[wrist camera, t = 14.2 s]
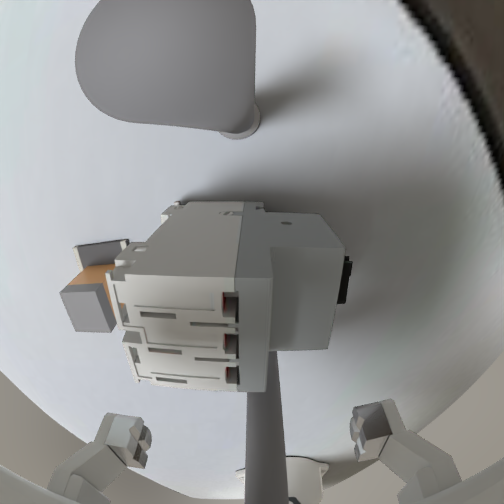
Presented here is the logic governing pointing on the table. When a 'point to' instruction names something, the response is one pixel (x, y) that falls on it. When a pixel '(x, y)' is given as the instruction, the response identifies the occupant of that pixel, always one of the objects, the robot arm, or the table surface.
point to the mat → (98, 253)
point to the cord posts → (192, 116)
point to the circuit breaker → (226, 293)
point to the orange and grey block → (90, 300)
